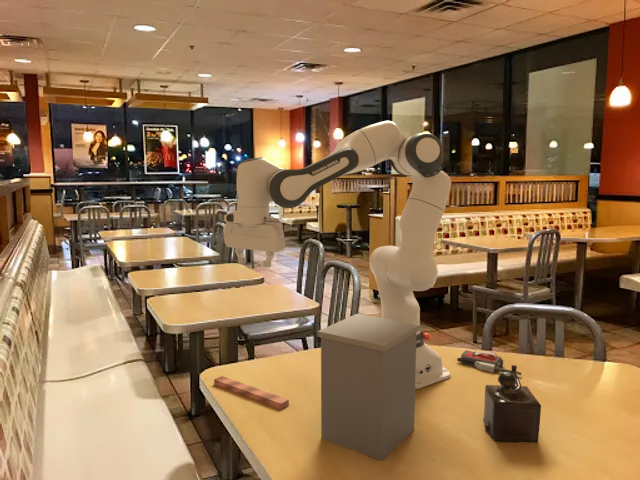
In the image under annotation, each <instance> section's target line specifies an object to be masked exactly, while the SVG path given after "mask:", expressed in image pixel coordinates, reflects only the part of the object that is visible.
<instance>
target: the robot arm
mask: <svg viewBox="0 0 640 480" xmlns="http://www.w3.org/2000/svg"><path fill="white" fill-rule="evenodd" d="M384 161H387V163H389V164H390V165H391V167H392V168H393V170H394V171H395V172H396V173H398V174H399V175H401V176H403V177H411V179H412V187H411V191H410V192H409V195H408V197H407V200H406V202H405V206H404V208H403V210H402V213H401V215H400V218H399V221H398V227H399V230H400V233H401V234H400V235H401V237H400V240H401V241H400V245H399V246H396V245H384V246H383V245H382V246H378V247H377V248H375V249H374V250H373V251H372V252H371V254H370V257H369V262H368V265H369V268H370V271H371V273H372V274H373V276H374V278H375V283H376V286H377V289H378V294H379V299H380V305H381V307H380V308H381V318H383V319H388V320H393V321H399V322H404V323H409V324H414V325H419V326H420V322H421V319H420V318H421V317H420V316H421V315H420V312H421V308H420V305H419V302H418V301H417V299H416V296H415V294H414V291H415V292H424V291H427V290H429V289H431V288H432V287H433V286H434V285H435V283H436V281H437V278H438V274H439V273H438V265H437V264H436V262H435V259H434V246H435V238H436V234H437V232H438V229H439V226H440V223H441V220H442V218H443V215H444V212H445V210H446V206H447V204H448V201H449V196H450V192H451V188H452V187H451V186H452V180H451V178H450V176H449V175H448V174H447V172H445V171H444V170H443V168H444V164H445V163H444V148H443V144H442V141H441V139H439V138H438V137H437V136H436V135H434V133H433V134H432V133H430V132H429V133H428V132H420V133H419V132H418V133H416V134H414V135H412V136H409V137H408V136H405V135H404V134H403V133H402V130H401V128H400V127H399V125H397V124H396V123H395V122H394V121H391V120H384V121H383V120H382V121H379V122H375V123H373V124H369V125H367V126H364V127H361V128H360V129H357V130H355V131H353V132H352V133H350V134H348V135H347V136H345V137H344V138H342V139H341V140H340V141H338V142H337V144H336V146H335V148H334V150H333V151H332V152H331V153H329V155H327V156H325V157H324V158H321V159H320V160H318V161H316V162H313V163H311V164H309V165H307V166H305V167H303V168H298V169H291V168H290V169H286V168H283V167H280V166H278V165H276V164H274V163H273V162H271V161H269V160H267V159H266V157H262V156H261V157H260V156H259V157H254V158H249V159H244V160H242V161H241V162H240V163H239V164H238V166H237V171H236V193H237V197H238V198H237V199H238V200H237V204H236V207H237V208H236V210H234V211H232V212H229V213H228V212H227V213H225V214H224V216H223V221H224V222H225V224H224V226H223V240H224V244H225V246H226V247H227V248H234V252H235V254H236V256H237V258H238V259H237V262H238V264H240V265H241V264H242V265H243V264H246V263H247V256H245V254H244V253H243V252H244V250H250V251H251V250H252V251H259V252H265V256H266V259H265V260H263V261H262V263H263V264H262V267H263V268H271V267H272V261H273V258H274V257H275V254H277V253H281V252H284V250H285V249H286V238H285V233H284V225H283V222H282V221H281V220H280V219H279V218H275V217H270V203H271V202H272V203H273V202H274V204H276V205H277V206H278V207H281V208H283V209H293V208H296V207H298V206H301V204H303V203H304V202H305V201H306V200H307V199H308V197H309V196H310V195H311V194H312V192H314V191H315V190H317V189H319V188H320V187H322V186H324V185H326V184H327V183H330V182H332V181H334V180H336V179H337V178H340V177H343V176H345V175H350V174H354V173H358V172H361V171H364V170H366V169H370V168H372V167H373V166H374V167H375V166H376V165H378V164H379V163H381V162H384ZM431 339H432V335H431V334H430V333H428V332H423V331H421V330H419V331H418V332H416V371H415V390H420V389H422V388H425V387H426V386H430V385H433V384H435V383H439V382H441V381H444V380H447V379H450V378H451V373H450V371H449V370H448V369H447V368H446V367H444V365H443V360H442V356H440V353H438V352H437V351H436V350H434V348H432V347H430V346H429V344H426V343H425V341H427V342H429V341H430V340H431ZM424 340H425V341H424Z"/></svg>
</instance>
